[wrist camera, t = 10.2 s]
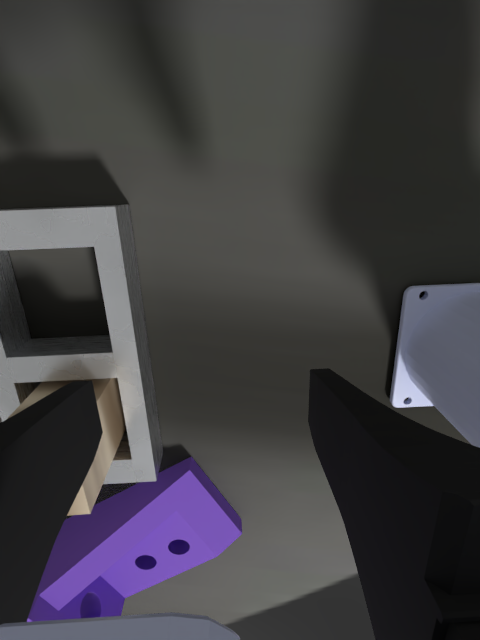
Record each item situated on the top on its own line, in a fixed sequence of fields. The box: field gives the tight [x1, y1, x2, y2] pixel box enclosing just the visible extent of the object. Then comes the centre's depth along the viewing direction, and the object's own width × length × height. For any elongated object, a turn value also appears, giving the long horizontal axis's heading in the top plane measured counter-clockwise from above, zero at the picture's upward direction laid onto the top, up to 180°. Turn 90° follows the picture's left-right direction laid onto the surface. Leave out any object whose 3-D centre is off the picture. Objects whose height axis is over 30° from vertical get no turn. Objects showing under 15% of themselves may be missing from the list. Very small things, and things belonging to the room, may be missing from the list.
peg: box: [6, 378, 126, 516], centre depth 19 cm, size 4×4×7 cm
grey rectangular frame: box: [0, 204, 163, 484], centre depth 20 cm, size 8×16×2 cm, turn 2°
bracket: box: [27, 457, 242, 622], centre depth 23 cm, size 12×7×7 cm, turn 120°
